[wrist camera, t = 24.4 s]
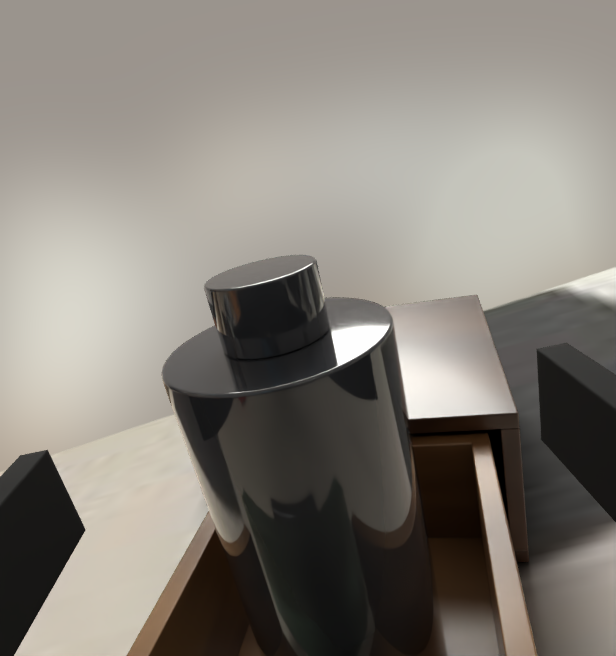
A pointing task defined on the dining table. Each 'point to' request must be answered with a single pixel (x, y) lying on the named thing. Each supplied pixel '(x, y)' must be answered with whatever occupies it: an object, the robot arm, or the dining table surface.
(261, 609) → the bottle
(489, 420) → the cabinet
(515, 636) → the drawer
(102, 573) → the dining table surface
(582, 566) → the dining table surface
